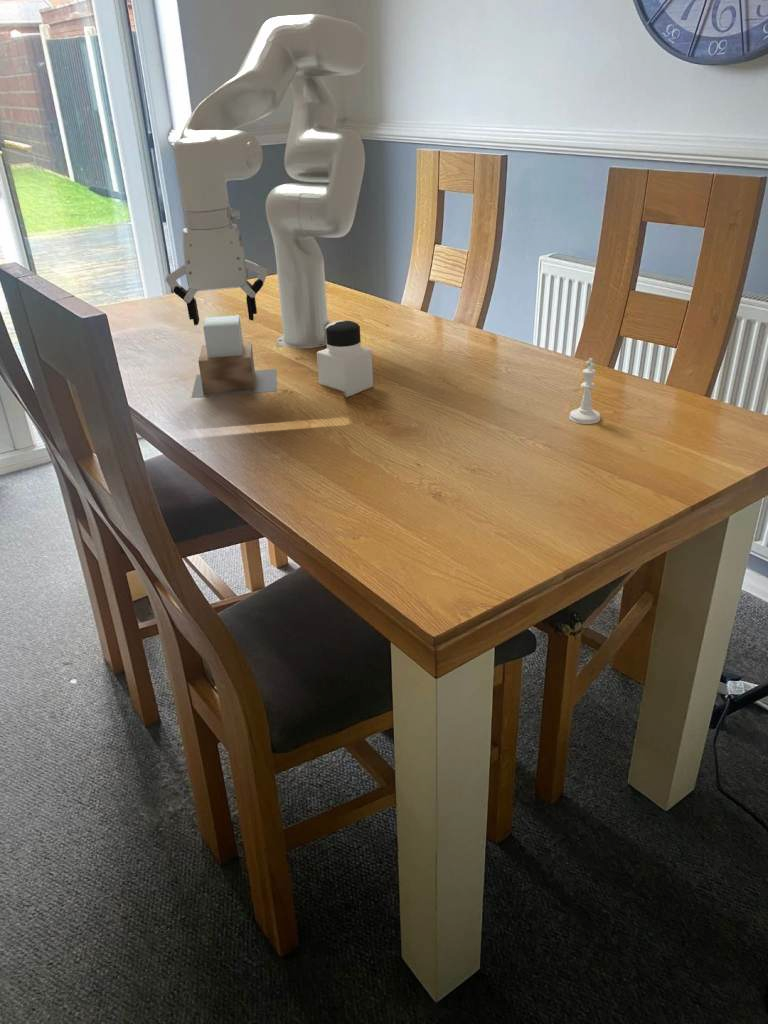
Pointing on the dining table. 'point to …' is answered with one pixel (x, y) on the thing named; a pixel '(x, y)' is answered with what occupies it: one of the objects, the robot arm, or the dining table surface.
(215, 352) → the blue-grey block
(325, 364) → the medicine bottle
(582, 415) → the chess piece
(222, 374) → the walnut block
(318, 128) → the robot arm
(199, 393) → the slate board
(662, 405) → the dining table surface
